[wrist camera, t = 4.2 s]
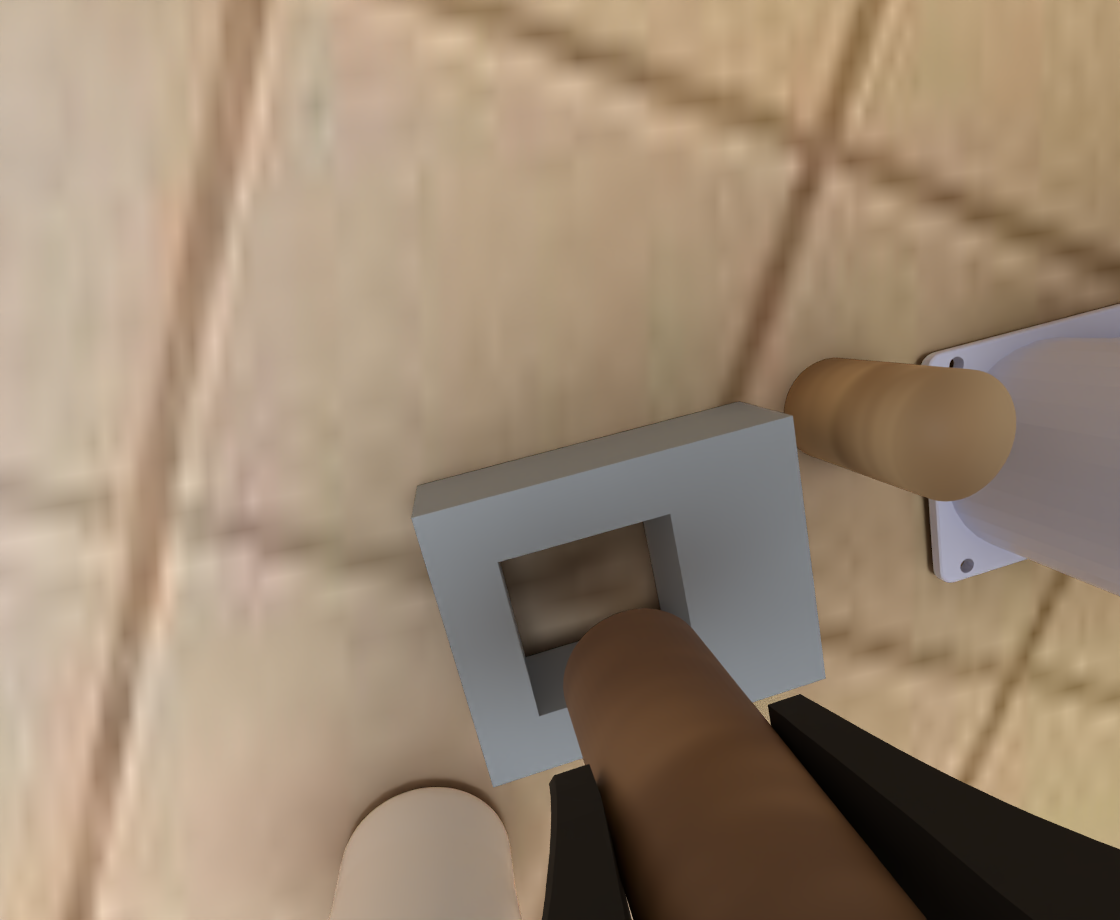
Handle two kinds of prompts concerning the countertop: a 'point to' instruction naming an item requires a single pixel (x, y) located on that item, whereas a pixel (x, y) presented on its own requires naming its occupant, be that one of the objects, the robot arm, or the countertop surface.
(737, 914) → the walnut dowel
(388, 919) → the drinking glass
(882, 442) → the oak stub
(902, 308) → the countertop surface
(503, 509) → the socket block
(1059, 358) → the robot arm
